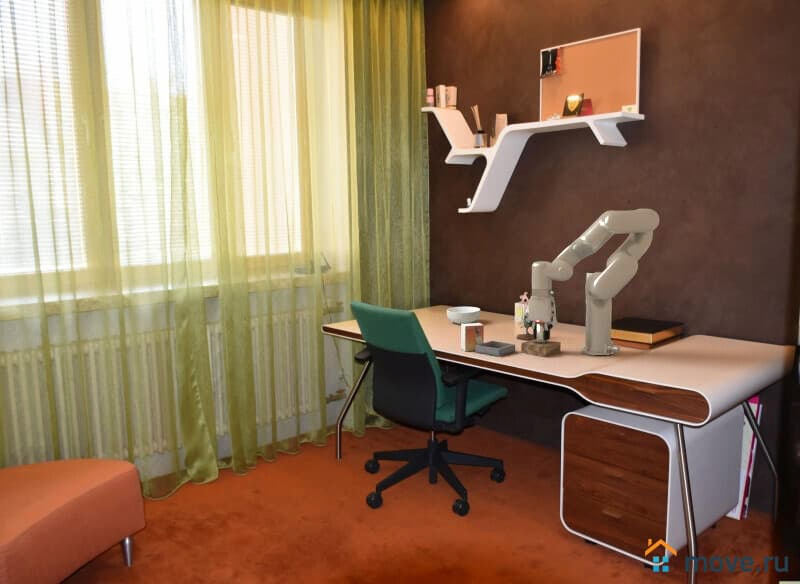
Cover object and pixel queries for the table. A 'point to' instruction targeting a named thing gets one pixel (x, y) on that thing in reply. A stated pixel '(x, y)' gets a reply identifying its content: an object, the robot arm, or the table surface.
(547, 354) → the block
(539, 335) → the pin
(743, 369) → the table surface
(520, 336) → the bonsai tree
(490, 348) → the tray
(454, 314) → the cereal bowl
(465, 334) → the small box
